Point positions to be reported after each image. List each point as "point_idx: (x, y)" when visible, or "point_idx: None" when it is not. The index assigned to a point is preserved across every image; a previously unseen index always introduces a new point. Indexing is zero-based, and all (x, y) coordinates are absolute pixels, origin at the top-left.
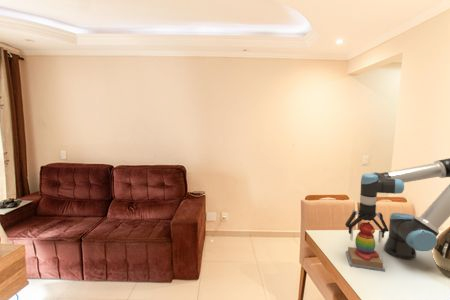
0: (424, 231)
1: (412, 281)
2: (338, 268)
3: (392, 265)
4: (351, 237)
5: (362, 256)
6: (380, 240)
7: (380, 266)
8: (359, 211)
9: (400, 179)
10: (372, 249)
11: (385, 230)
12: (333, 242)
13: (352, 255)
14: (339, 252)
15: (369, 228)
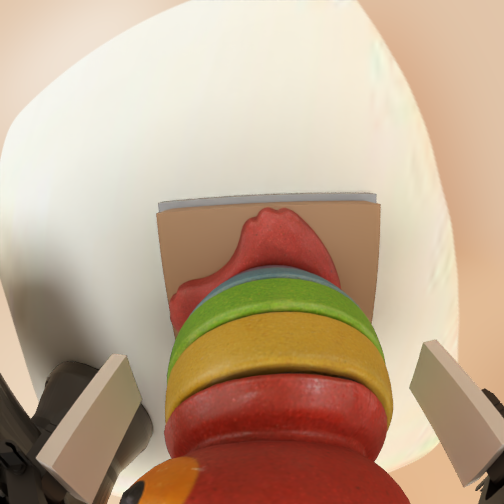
0: None
1: (63, 163)
2: (430, 150)
3: (118, 293)
4: (453, 359)
5: (309, 230)
6: (100, 382)
7: (179, 209)
8: None
9: None
10: (212, 290)
11: (3, 469)
12: None
13: (370, 257)
14: (391, 340)
15: None
